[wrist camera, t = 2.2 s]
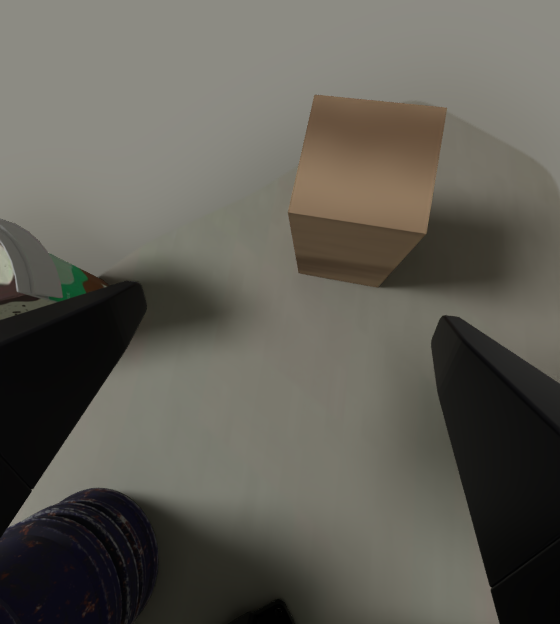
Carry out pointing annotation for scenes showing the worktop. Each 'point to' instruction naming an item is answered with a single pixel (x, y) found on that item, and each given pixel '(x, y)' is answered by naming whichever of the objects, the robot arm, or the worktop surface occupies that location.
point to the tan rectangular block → (363, 186)
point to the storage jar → (79, 562)
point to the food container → (35, 274)
